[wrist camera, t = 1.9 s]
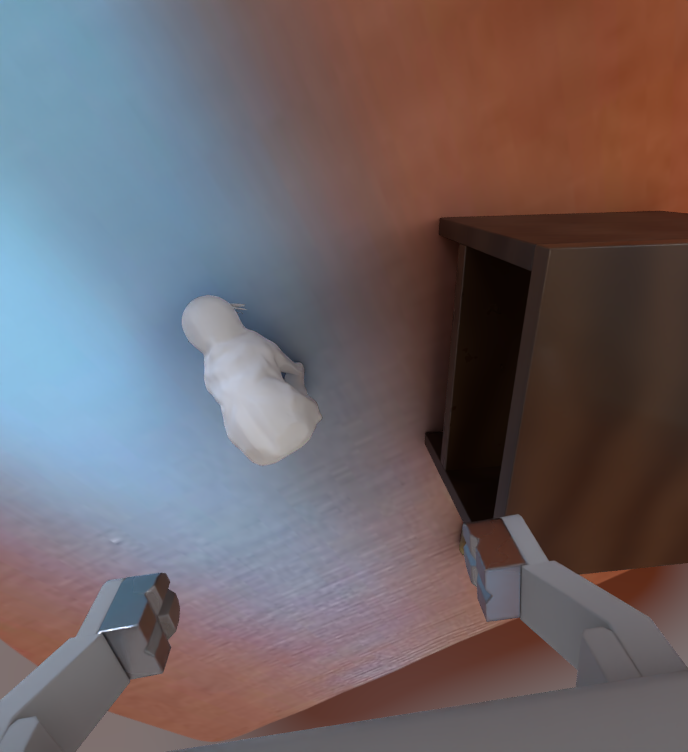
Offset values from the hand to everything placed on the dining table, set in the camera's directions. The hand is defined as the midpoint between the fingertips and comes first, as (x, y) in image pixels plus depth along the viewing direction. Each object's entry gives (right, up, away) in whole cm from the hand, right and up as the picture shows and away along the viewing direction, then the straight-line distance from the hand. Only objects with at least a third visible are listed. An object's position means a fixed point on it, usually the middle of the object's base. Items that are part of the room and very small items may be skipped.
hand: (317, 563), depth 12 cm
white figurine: (-7, +7, +22) cm, 24 cm away
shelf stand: (+16, +8, +24) cm, 30 cm away
